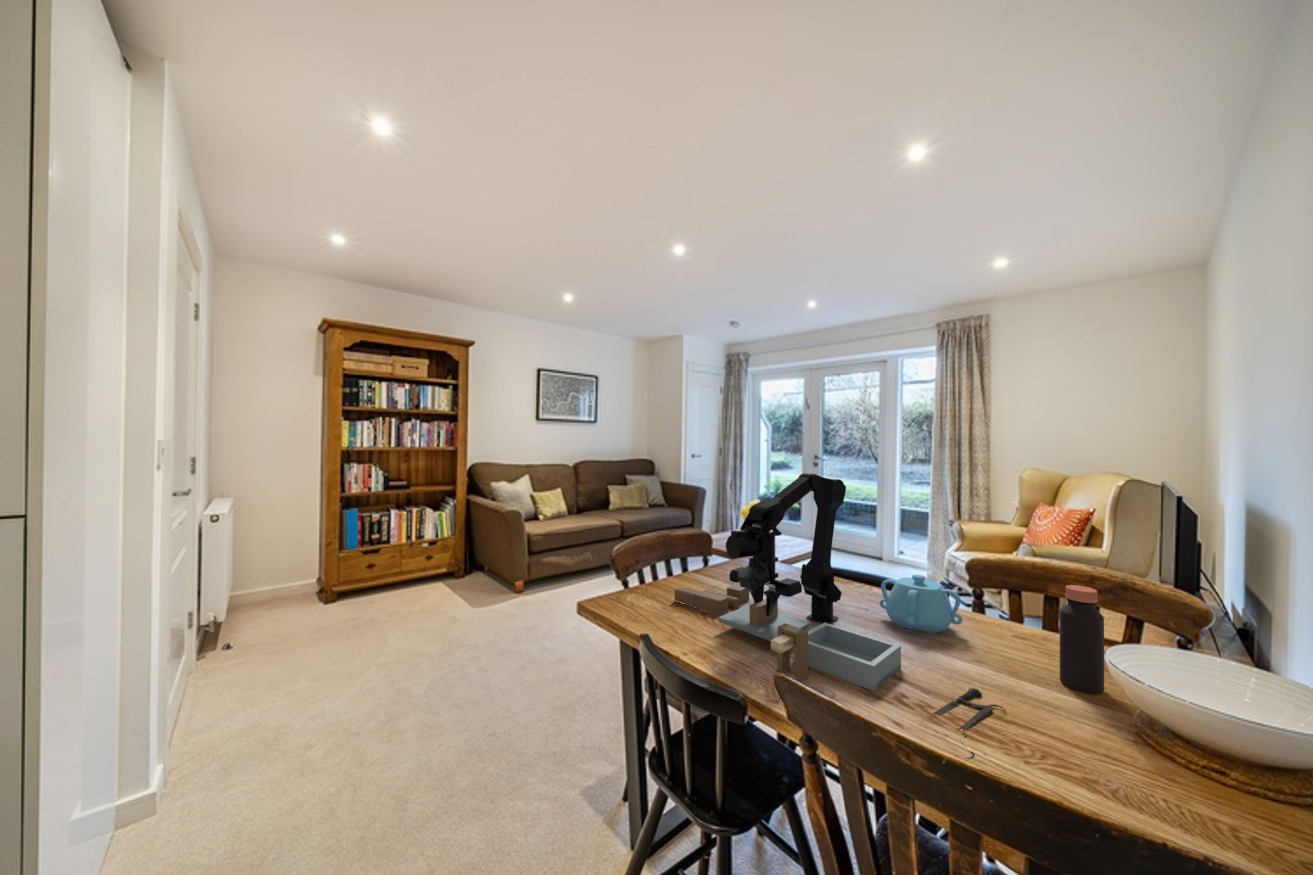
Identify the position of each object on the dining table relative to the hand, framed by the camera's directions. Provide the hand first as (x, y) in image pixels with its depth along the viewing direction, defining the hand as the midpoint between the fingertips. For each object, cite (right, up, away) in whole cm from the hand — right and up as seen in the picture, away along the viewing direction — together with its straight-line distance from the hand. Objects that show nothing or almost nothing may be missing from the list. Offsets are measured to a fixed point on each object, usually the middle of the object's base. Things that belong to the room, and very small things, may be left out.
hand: (764, 614), depth 123 cm
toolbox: (+12, -5, -19) cm, 23 cm away
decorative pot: (+43, -6, +6) cm, 44 cm away
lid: (0, -3, 0) cm, 3 cm away
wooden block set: (-10, -6, +25) cm, 28 cm away
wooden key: (0, +1, -21) cm, 21 cm away
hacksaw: (+28, -6, -38) cm, 48 cm away
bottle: (+59, -5, -26) cm, 65 cm away
